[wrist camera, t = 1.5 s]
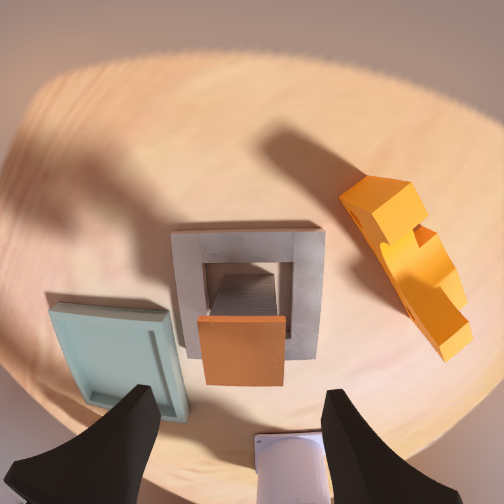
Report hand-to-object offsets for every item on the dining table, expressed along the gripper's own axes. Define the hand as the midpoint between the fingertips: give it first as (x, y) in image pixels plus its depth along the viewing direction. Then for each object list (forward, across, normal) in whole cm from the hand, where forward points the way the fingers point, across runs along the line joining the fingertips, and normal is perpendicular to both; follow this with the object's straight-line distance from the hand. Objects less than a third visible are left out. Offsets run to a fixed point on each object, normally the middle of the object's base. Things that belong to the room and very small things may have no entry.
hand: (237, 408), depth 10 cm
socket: (+10, 0, 0) cm, 11 cm away
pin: (+11, 0, 0) cm, 11 cm away
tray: (+10, +12, +7) cm, 17 cm away
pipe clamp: (+11, -11, -3) cm, 16 cm away
